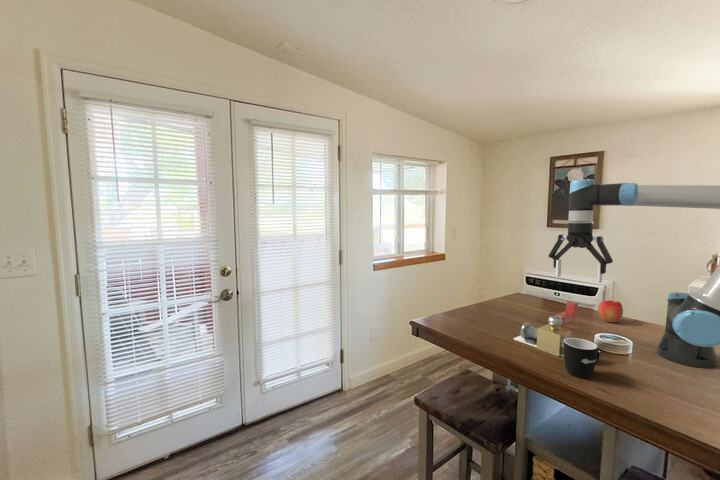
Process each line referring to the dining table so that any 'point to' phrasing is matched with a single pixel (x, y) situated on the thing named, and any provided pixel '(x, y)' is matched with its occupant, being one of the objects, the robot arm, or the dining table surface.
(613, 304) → the apple
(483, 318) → the dining table surface
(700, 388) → the dining table surface
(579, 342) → the mug
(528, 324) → the valve
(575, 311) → the lever
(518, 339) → the board
